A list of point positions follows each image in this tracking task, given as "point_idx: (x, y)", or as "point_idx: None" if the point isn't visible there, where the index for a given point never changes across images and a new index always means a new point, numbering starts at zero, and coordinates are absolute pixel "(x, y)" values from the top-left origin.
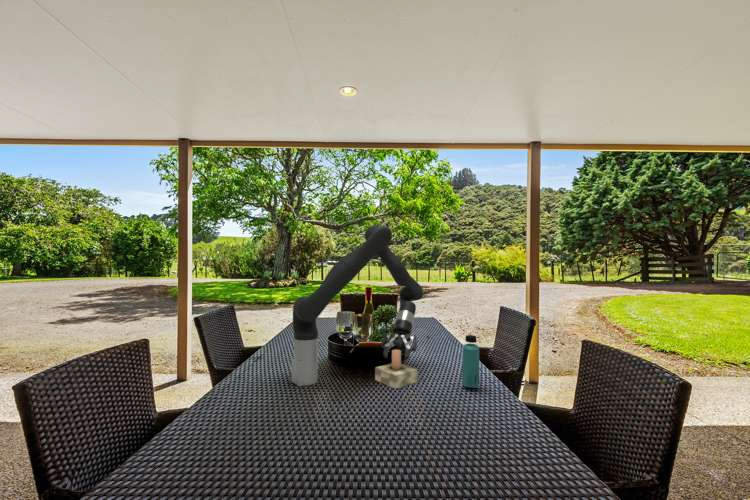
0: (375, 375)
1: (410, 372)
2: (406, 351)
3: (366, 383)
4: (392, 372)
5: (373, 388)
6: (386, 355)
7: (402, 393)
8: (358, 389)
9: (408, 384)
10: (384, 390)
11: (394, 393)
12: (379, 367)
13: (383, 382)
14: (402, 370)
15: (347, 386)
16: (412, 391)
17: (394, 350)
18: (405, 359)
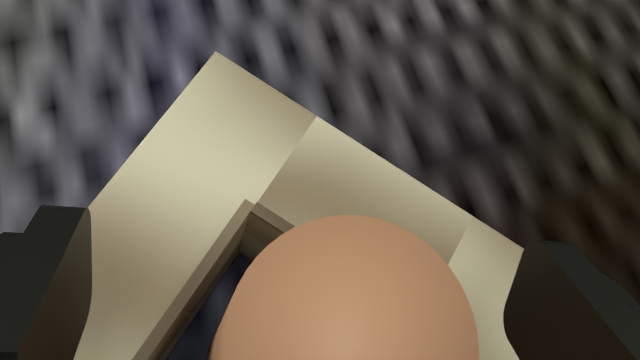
0: None
1: None
2: (27, 298)
3: (528, 180)
4: (287, 151)
5: (418, 81)
6: (527, 295)
7: (119, 36)
8: (524, 29)
9: None
10: (307, 62)
11: (196, 19)
12: None
13: None
14: (164, 283)
15: (635, 66)
16: (18, 108)
17: (409, 337)
18: (85, 257)
